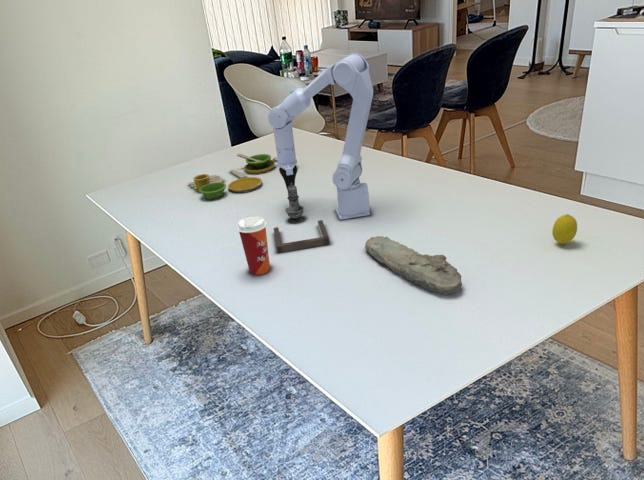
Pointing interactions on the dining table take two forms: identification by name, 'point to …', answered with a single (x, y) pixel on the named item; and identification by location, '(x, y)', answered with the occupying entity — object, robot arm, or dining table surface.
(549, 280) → the dining table surface
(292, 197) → the salt shaker
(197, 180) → the tableware set
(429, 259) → the elongated rock
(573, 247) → the dining table surface
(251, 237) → the paper cup
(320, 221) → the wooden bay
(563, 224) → the lemon
